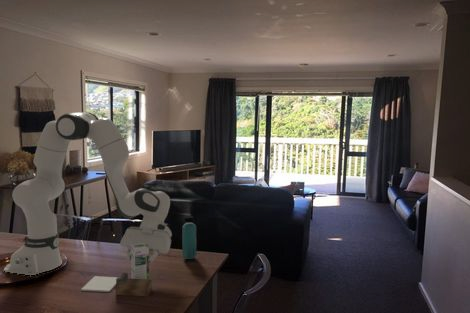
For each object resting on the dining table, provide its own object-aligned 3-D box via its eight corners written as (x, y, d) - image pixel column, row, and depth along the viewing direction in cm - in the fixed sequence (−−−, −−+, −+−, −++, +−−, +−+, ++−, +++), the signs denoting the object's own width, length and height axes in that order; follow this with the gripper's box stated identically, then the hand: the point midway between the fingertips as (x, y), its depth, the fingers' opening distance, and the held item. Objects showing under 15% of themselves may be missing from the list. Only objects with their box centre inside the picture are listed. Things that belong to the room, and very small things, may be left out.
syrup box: (134, 285, 140) (134, 248, 138) (131, 279, 145) (130, 243, 143) (149, 282, 142) (149, 246, 141) (145, 276, 148) (145, 241, 146)
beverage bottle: (194, 262, 163) (194, 219, 161) (180, 261, 165) (179, 218, 162) (198, 257, 170) (198, 215, 167) (184, 255, 171) (184, 214, 169)
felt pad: (81, 290, 137) (81, 289, 137) (94, 277, 148) (94, 276, 148) (109, 292, 136) (109, 290, 136) (121, 278, 147) (121, 277, 147)
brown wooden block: (115, 294, 134) (115, 279, 134) (121, 288, 139) (120, 273, 138) (147, 296, 133) (147, 280, 133) (152, 289, 138) (151, 274, 137)
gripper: (125, 222, 150) (111, 254, 142) (171, 227, 145) (160, 260, 137) (131, 229, 155) (118, 260, 147) (175, 234, 150) (165, 267, 142)
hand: (139, 260), depth 142 cm, fingers closed on syrup box, 8 cm apart
